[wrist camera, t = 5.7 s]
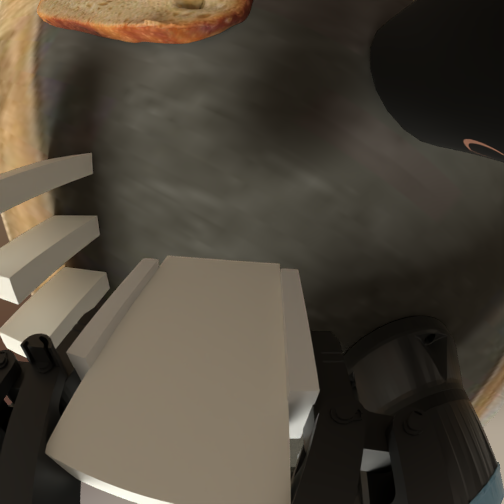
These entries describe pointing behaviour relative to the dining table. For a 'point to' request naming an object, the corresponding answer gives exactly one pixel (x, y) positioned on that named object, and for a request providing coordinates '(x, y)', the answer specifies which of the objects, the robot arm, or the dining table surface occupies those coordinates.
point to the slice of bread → (146, 18)
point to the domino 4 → (187, 392)
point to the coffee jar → (445, 73)
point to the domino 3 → (55, 307)
